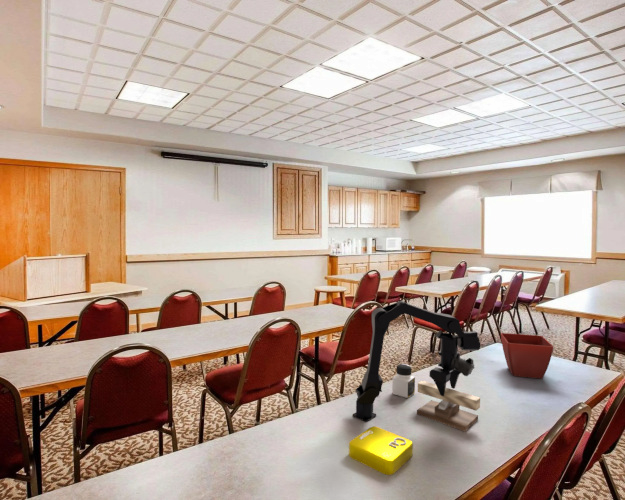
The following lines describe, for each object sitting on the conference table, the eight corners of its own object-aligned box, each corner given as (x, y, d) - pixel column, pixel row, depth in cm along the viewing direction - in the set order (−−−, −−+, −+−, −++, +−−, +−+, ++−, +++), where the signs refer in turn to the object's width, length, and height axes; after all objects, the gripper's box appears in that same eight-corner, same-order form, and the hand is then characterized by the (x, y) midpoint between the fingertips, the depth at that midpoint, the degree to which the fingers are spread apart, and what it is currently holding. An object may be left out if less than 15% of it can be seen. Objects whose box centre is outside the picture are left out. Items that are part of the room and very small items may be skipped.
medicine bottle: (408, 398, 156) (408, 369, 155) (391, 394, 160) (392, 365, 159) (414, 392, 161) (415, 364, 161) (399, 388, 166) (399, 361, 165)
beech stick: (479, 407, 134) (480, 397, 134) (476, 410, 131) (476, 400, 131) (421, 389, 149) (422, 380, 149) (417, 392, 146) (417, 383, 146)
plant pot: (506, 377, 180) (507, 342, 179) (499, 364, 198) (500, 332, 197) (552, 382, 174) (554, 346, 173) (540, 368, 192) (542, 335, 192)
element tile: (372, 437, 126) (373, 423, 126) (415, 455, 116) (415, 439, 116) (346, 456, 115) (346, 441, 115) (390, 478, 105) (390, 461, 105)
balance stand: (465, 431, 130) (465, 412, 130) (416, 414, 142) (417, 396, 142) (478, 419, 139) (478, 401, 138) (431, 403, 151) (431, 387, 151)
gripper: (460, 361, 127) (459, 407, 128) (481, 349, 141) (479, 390, 141) (429, 353, 135) (428, 397, 135) (451, 343, 148) (450, 382, 149)
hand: (447, 391), depth 140 cm, fingers open, 9 cm apart
